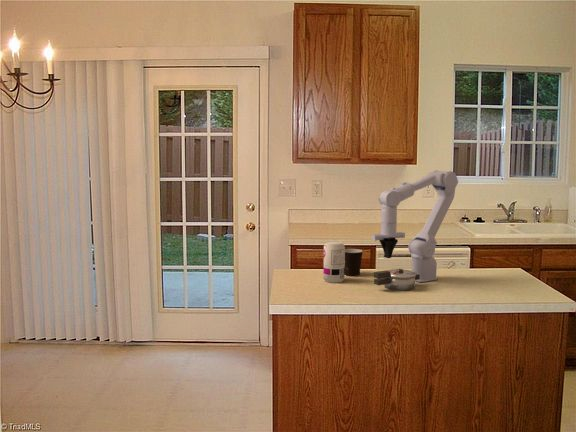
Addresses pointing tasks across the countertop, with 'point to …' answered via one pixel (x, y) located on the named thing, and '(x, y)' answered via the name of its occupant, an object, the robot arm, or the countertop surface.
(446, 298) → the countertop surface
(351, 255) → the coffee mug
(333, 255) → the supplement can
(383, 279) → the pot
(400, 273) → the lid
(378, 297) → the countertop surface
